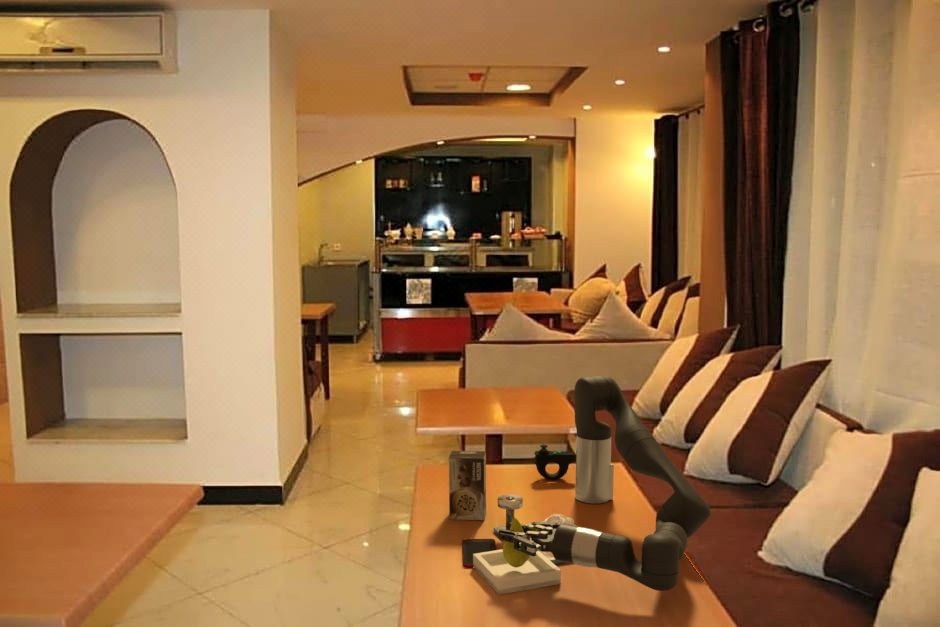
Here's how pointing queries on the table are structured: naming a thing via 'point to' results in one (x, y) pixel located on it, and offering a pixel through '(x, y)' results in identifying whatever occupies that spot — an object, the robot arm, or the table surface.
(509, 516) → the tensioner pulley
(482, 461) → the coffee box
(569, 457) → the controller
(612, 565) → the robot arm
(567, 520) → the rose
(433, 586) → the table surface
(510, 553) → the fruit
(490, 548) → the cell phone
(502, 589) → the tray
